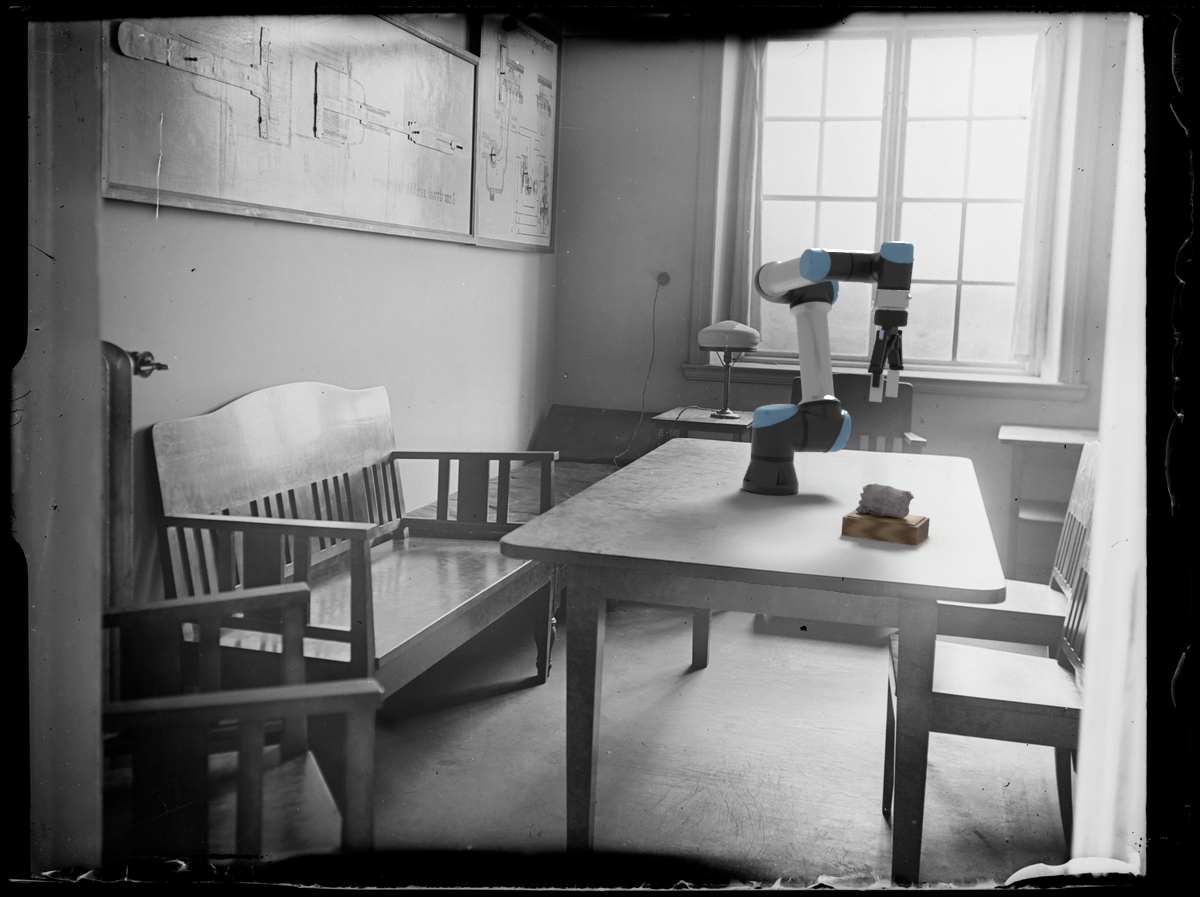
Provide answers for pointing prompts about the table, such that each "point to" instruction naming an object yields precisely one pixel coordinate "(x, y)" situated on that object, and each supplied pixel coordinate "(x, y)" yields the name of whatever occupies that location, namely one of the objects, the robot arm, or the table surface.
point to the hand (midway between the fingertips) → (883, 399)
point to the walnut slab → (886, 527)
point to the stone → (884, 501)
